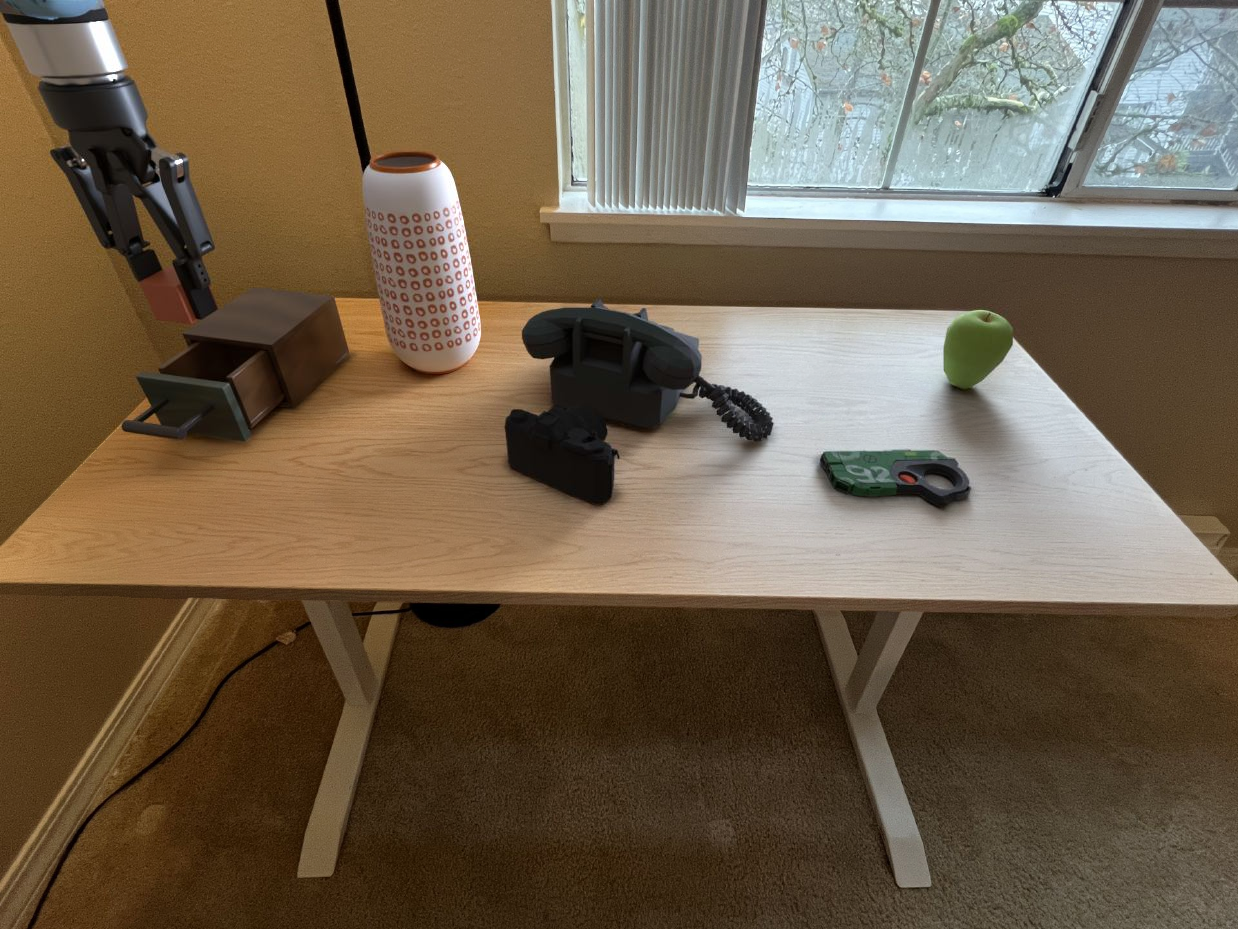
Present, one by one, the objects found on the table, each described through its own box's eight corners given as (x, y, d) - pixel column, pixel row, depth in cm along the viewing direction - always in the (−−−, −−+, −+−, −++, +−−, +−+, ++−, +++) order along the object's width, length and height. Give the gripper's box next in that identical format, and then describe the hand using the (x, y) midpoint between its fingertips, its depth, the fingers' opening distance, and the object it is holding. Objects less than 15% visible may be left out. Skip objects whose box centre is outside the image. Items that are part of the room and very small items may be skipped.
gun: (845, 502, 72) (819, 447, 80) (841, 511, 73) (816, 456, 81) (985, 500, 73) (946, 446, 81) (980, 509, 74) (942, 455, 82)
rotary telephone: (790, 381, 94) (812, 284, 85) (760, 468, 79) (782, 360, 69) (581, 337, 103) (580, 245, 94) (517, 406, 88) (508, 304, 78)
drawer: (211, 474, 74) (184, 418, 69) (124, 460, 76) (91, 405, 71) (307, 384, 89) (290, 333, 84) (233, 374, 91) (212, 324, 86)
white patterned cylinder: (374, 367, 95) (322, 162, 77) (436, 330, 104) (403, 140, 86) (443, 392, 90) (406, 180, 72) (502, 352, 99) (481, 155, 81)
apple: (928, 364, 99) (955, 294, 92) (987, 376, 97) (1019, 304, 90) (928, 393, 93) (957, 320, 86) (992, 405, 91) (1026, 331, 83)
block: (191, 324, 72) (175, 286, 69) (156, 320, 73) (138, 282, 70) (218, 307, 75) (203, 270, 72) (184, 302, 76) (168, 266, 73)
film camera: (644, 467, 78) (648, 406, 73) (600, 513, 72) (601, 450, 66) (544, 426, 84) (541, 367, 79) (496, 465, 78) (488, 403, 72)
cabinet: (294, 408, 86) (271, 344, 80) (210, 396, 88) (181, 333, 82) (350, 355, 97) (334, 295, 91) (274, 345, 99) (253, 286, 93)
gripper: (197, 75, 61) (276, 305, 75) (38, 65, 63) (144, 290, 78) (136, 89, 55) (234, 335, 70) (-37, 77, 57) (93, 317, 72)
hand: (186, 311), depth 74 cm, fingers closed on block, 4 cm apart
